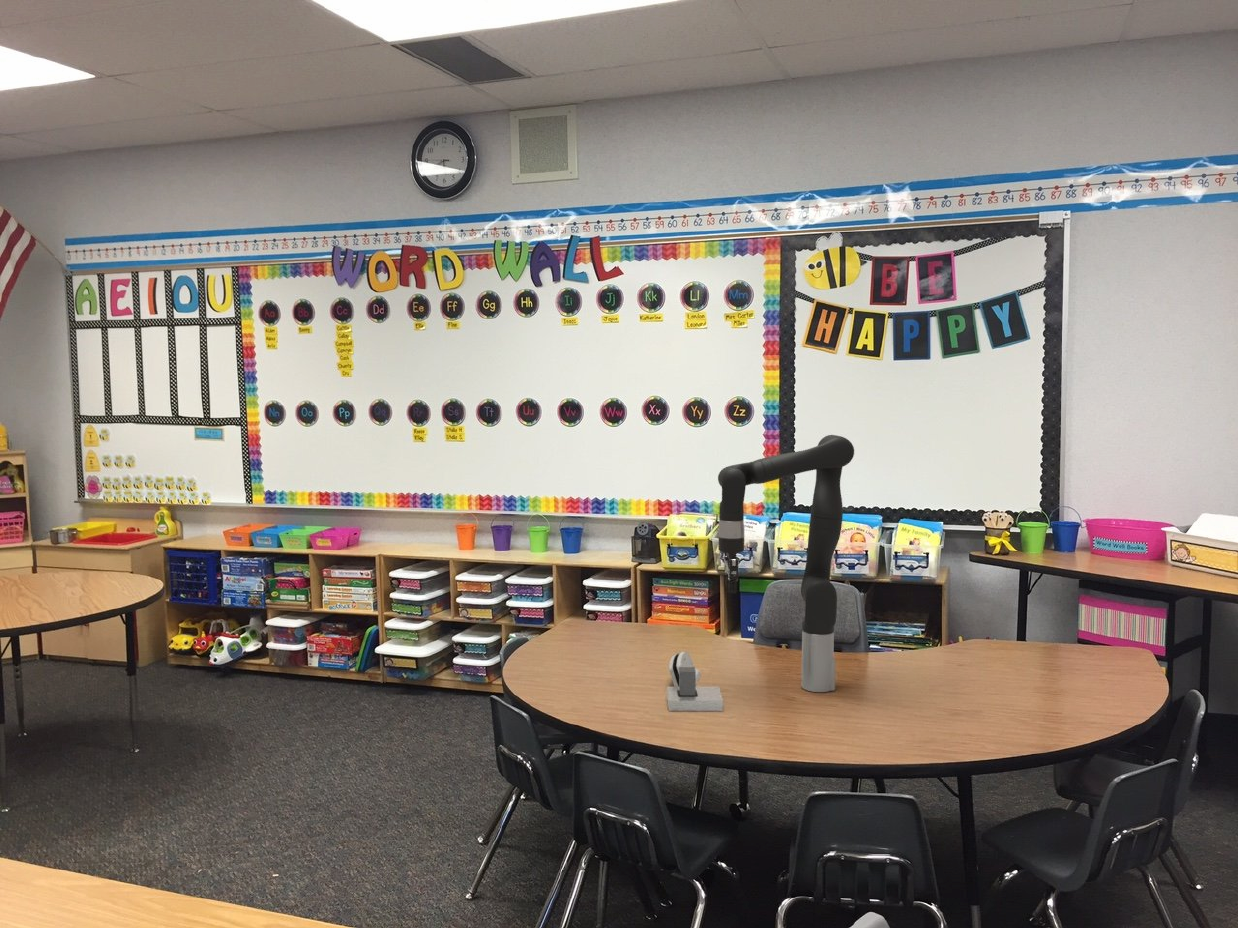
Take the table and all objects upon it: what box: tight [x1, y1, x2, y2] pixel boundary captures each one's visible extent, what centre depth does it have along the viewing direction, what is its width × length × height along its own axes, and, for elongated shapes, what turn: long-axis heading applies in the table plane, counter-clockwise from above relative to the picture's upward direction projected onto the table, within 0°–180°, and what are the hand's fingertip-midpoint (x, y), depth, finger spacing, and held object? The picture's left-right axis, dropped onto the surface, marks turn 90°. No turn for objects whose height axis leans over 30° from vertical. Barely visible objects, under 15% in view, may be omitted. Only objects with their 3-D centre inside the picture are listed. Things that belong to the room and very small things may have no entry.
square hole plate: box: [666, 686, 724, 712], centre depth 267 cm, size 15×12×3 cm
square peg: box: [679, 666, 697, 697], centre depth 266 cm, size 4×4×10 cm
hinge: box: [668, 651, 702, 687], centre depth 285 cm, size 17×5×10 cm, turn 166°
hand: (731, 589), depth 276 cm, fingers open, 8 cm apart
